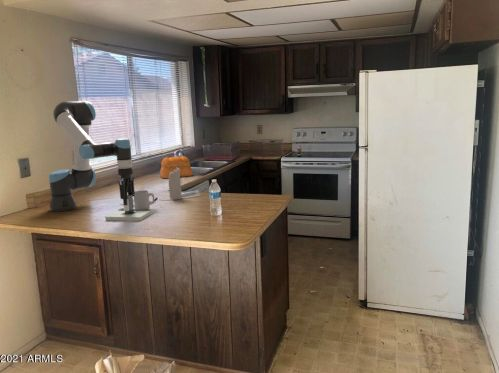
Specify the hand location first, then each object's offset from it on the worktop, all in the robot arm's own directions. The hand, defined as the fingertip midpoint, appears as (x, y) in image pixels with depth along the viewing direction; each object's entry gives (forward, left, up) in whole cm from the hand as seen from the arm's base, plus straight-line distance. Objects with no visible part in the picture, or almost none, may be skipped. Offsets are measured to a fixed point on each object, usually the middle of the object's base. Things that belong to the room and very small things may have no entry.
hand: (129, 209), depth 233 cm
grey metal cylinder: (0, 0, -2) cm, 2 cm away
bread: (-21, +129, -5) cm, 131 cm away
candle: (+7, +44, -5) cm, 45 cm away
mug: (+2, +16, -5) cm, 17 cm away
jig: (0, 0, -4) cm, 4 cm away
